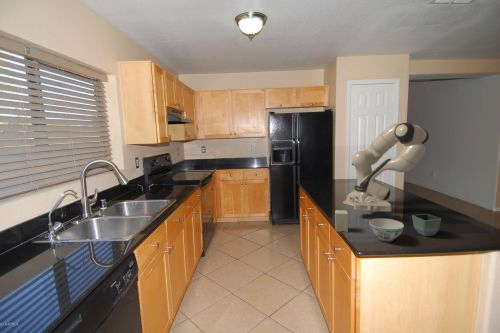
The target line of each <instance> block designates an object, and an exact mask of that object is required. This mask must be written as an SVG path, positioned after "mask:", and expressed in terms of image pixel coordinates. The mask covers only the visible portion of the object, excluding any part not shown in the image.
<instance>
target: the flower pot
mask: <svg viewBox="0 0 500 333" xmlns="http://www.w3.org/2000/svg"><path fill="white" fill-rule="evenodd" d="M411 218H412V225H413V227H414V229H415V231H416V232H417V234H419V235H422V236H424V237H431V236H432V237H433V236H435V235H436V234H438V232H439V230H440V226H441V221H442V218H440V217H437V216H434V215H432V214H429V213H423V214H422V213H421V214H412V216H411Z"/></svg>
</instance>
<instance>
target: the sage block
mask: <svg viewBox="0 0 500 333" xmlns="http://www.w3.org/2000/svg"><path fill="white" fill-rule="evenodd" d="M334 214H335V215H334V218H335V219H334V220H335V223H334V225H335V226H334V228H335V232H338V233H342V232H341V231H346V232H345V233H348V231H349V224H348V223H349V222H348V221H349V220H348V219H349V215H348V214H349V213H348V211H347V210H344V209H343V210H341V209H340V210H339V209H335V211H334Z"/></svg>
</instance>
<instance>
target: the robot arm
mask: <svg viewBox="0 0 500 333" xmlns="http://www.w3.org/2000/svg"><path fill="white" fill-rule="evenodd" d="M429 138H430V134H429V132H428V130H426V129H425V128H423V127H421V126H419V125H416V124H412V123H411V122H401V123H393V124H392V125H390V126H389V127H387V128H386V129H385V130H383V131H382V132H381V133H380V134H378V136H376V137H375V138H374V139H373V140H372V141H371V143H370V145H369V146H368V148H366V149H364V150H360V151H357V152H355V153H354V154H353V155H352V157H351V162H352V164H353V166H354V168H355V171H356V185H354V186H353V189H354V190H353V191H351V192H350V193H348V194H347V195H346V199H345V200H344V201H343V202H342V204H344V205H348V206H352V207H353V210H355V211H364V212H365V211H367V212H369V213H378V212H392V207H393V206H392V204H391V203H390V202H389V201H388V199H390V196H391V189H390V188H389V187H388V186H386V185H385V184H383V183H381V182H379V181H378V180H377V179H376V178H377V177H378V176H379V175H381V173H383V172H384V171H393V172H397V173H407V172H411V171H412V170H414V168H415V167H416V166H417V165H418V164H419V162H420V161H421V160H422V158H423V157H424V155H425V153H426V146H425V145H424V144H426V143H427V142H428V140H429ZM397 143H400V144H401V145H403V148H402V149H401V151H400V152H399V153H398V154H397V156H395V157H393V158H386V159H385V160H384V161H383V162H381V163H380V164H379V165H378V166H377V167H376V168H375V169H374V170H373V168H372V166H374V165H375V164H377V163H378V162H379V161H380V159H381V158H382V157H383V156H384V155H385V154H386V153H387V152H388V151H389V150H391V149H392V147H394V146H395V145H396V144H397Z"/></svg>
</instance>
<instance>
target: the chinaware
mask: <svg viewBox="0 0 500 333" xmlns="http://www.w3.org/2000/svg"><path fill="white" fill-rule="evenodd" d="M368 225H369V228H370V230H371V232H372V233H373V234H374V235H375V236H377V238H378V240H380V241H383V242H392V241H394V240H395V239H396V238H398V237H399V236H400V235H402V232H403V230H404V228H405V225H404V224H403V223H402V222H401V221H399V220H395V219H392V218H373V219H370V220H369V221H368Z"/></svg>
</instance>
